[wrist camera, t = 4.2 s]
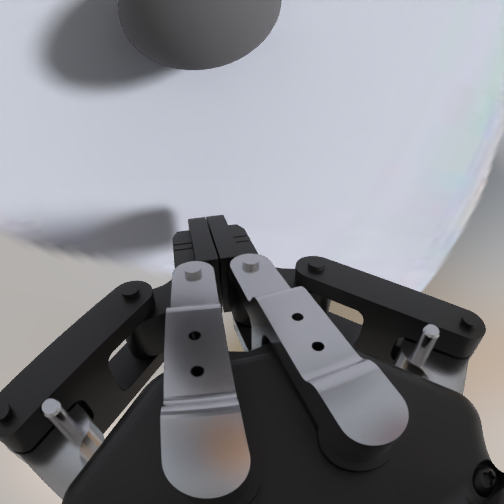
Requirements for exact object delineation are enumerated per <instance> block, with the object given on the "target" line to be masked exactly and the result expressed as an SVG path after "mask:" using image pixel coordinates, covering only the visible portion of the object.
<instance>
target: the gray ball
mask: <svg viewBox="0 0 504 504" xmlns="http://www.w3.org/2000/svg"><path fill="white" fill-rule="evenodd" d="M280 8H281V0H119V17H120V22H121V25H122V27H123V30H124V32H125V34H126V36H127V38H128V39H129V41H130V42H131V43H132V44H133V46H134V47H135V48H136V49H137V50H138V51H140V52H141V53H142V54H143V55H145V56H146V57H148V58H149V59H151V60H153V61H155V62H157V63H159V64H162V65H165V66H168V67H172V68H176V69H184V70H203V69H211V68H215V67H220V66H223V65H226V64H229V63H232V62H234V61H236V60H238V59H240V58H242V57H244V56H245V55H247V54H248V53H250V52H251V51H252V50H254V49H255V48H256V47H258V46H259V45H260V44H261V43H262V42H263V41H264V40H265V38H266V37H267V36H268V35H269V33H270V32H271V30H272V28H273V27H274V25H275V23H276V21H277V18H278V16H279V12H280Z"/></svg>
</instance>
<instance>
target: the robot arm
mask: <svg viewBox="0 0 504 504" xmlns="http://www.w3.org/2000/svg"><path fill="white" fill-rule="evenodd" d="M188 224H189V230H188V231H181V232H177V233H176V234H175V236H174V237H173V250H174V263H175V269H174V271H173V273H172V279H171V281H169V282H168V283H167V284H165V285H163V286H160V287H158V288H155V289H152V287H151V286H150V285H149V284H148V283H146V282H143V281H130V282H126V283H124V284H121V285H120V286H118V287H117V288H115V289H114V290H113V291H112V292H111V293H109V294H108V295H107V296H106V297H105V298H103V299H102V300H101V301H100V302H99V303H97V304H96V305H95V306H94V307H93V308H91V309H90V310H89V311H88V312H87V313H86V314H85V315H83V316H82V317H81V318H80V319H79V320H78V321H76V322H75V323H74V324H73V325H72V326H71V327H70V328H68V329H67V330H66V331H65V332H64V333H63V334H62V335H61V336H59V337H58V338H57V339H56V340H55V341H54V342H53V343H52V344H51V345H49V346H48V347H47V348H46V349H45V350H44V351H43V352H42V353H41V354H40V355H38V356H37V357H36V358H35V359H34V360H33V361H32V362H31V363H30V364H29V365H28V366H27V367H26V368H24V369H23V370H22V371H21V372H20V373H19V374H18V375H17V376H16V377H15V378H14V379H13V380H12V381H11V382H10V383H9V384H8V385H7V386H6V387H5V388H4V389H3V390H2V391H1V392H0V441H1V442H3V443H4V444H5V445H6V446H7V447H8V449H9V450H10V451H12V452H13V453H14V454H15V455H16V456H18V457H19V458H20V459H22V460H23V461H24V462H26V463H27V464H28V465H29V466H30V467H31V468H32V469H33V470H34V472H35V473H36V474H37V475H38V476H39V477H40V478H41V479H42V480H43V481H44V482H45V483H46V484H47V485H48V486H49V487H50V488H51V489H52V490H53V491H54V492H55V493H56V494H57V495H58V496H59V497H60V498H62V499H63V502H62V504H504V473H503V472H501V471H499V470H498V469H497V468H496V467H495V466H494V464H493V463H492V461H491V459H490V457H489V454H488V452H487V449H486V445H485V442H484V437H483V431H482V425H481V420H480V417H479V414H478V412H477V410H476V409H475V407H474V406H473V404H472V403H471V402H470V401H469V400H468V399H467V398H466V397H465V396H463V390H464V385H465V380H466V373H467V367H468V361H469V359H470V357H471V356H472V354H473V353H474V351H475V349H476V348H477V346H478V344H479V343H480V341H481V339H482V337H483V336H484V334H485V331H486V328H485V324H484V322H483V321H482V319H481V318H480V317H479V316H478V315H476V314H475V313H473V312H471V311H469V310H466V309H463V308H461V307H458V306H456V305H453V304H450V303H448V302H445V301H442V300H439V299H437V298H434V297H432V296H429V295H426V294H423V293H421V292H418V291H415V290H413V289H410V288H407V287H404V286H402V285H399V284H396V283H393V282H391V281H388V280H385V279H382V278H379V277H377V276H374V275H371V274H368V273H365V272H363V271H360V270H357V269H354V268H351V267H349V266H346V265H343V264H340V263H337V262H334V261H331V260H329V259H326V258H323V257H318V256H308V257H304V258H301V259H300V260H298V261H297V263H296V267H295V269H282V268H275V267H274V265H273V264H272V263H271V261H270V260H269V259H268V258H267V257H265V256H262V255H259V254H258V253H257V251H256V249H255V247H254V246H253V244H252V242H251V241H250V238H249V237H248V235H247V233H246V231H245V229H243V228H242V227H240V226H238V225H237V224H236V225H228V224H227V222H226V220H225V218H224V216H223V215H218V216H210V217H206V219H205V217H202V218H194V219H188ZM331 300H333V301H335V302H338V303H340V304H343V305H345V306H348V307H350V308H353V309H355V310H357V311H359V312H360V313H361V314H362V316H363V319H364V322H363V325H360V324H357V323H355V322H353V321H350V320H348V319H345V318H343V317H340V316H338V315H335V314H333V313H331V312H329V306H330V301H331ZM222 306H223V310H224V312H230V311H232V314H233V326H234V329H235V331H236V334H237V336H238V338H239V340H240V343H241V345H242V347H243V349H244V352H230V351H228V347H227V341H226V335H225V329H224V324H223V318H222ZM125 339H126V341H127V343H126V344H125V345H124V346H123V347H122V348H121V350H119V352H118V353H117V354H116V355H115V356H114V357H113V358H112V359H111V360H110V361H109V362H108V360H109V357H110V355H111V353H112V352H113V351H114V350H115V349H116V348H117V347H118V346H119V345H120V344H121V343H122V342H123V341H124V340H125ZM163 362H164V373H162V374H161V375H159V376H157V377H156V378H155V379H153V380H152V381H151V382H150V383H149V384H148V385H147V386H146V387H145V388H144V389H143V391H142V392H141V393H140V394H139V396H138V397H137V398H136V400H135V401H134V402H133V403H132V405H131V406H130V407H129V409H128V410H127V411H126V413H125V414H124V415H123V417H122V418H121V419H120V420H119V422H118V423H117V424H116V426H115V427H114V428H113V429H112V431H111V432H110V433H109V435H108V436H107V437H106V439H105V440H104V436H103V434H104V433H105V431H106V430H107V429H108V428H109V427H110V425H111V424H112V423H113V422H114V421H115V419H116V418H117V417H118V416H119V414H120V413H121V412H122V411H123V410H124V409H125V407H126V406H127V405H128V404H129V403H130V401H131V400H132V399H133V398H134V397H135V396H136V394H137V393H138V392H139V391H140V390H141V388H142V387H143V386H144V385H145V383H146V382H147V381H148V380H149V379H150V378H151V376H152V375H153V374H154V373H155V372H156V370H157V369H158V368H159V367H160V366H161V364H162V363H163Z"/></svg>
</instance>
